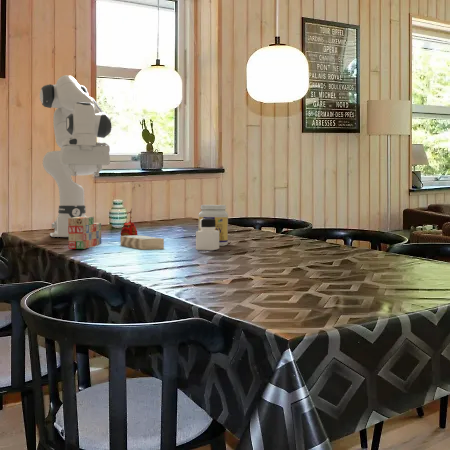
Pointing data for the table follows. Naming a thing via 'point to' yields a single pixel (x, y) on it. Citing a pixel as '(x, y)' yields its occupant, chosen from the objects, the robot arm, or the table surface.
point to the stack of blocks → (83, 232)
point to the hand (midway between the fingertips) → (85, 176)
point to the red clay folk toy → (129, 228)
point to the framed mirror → (142, 242)
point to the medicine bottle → (207, 235)
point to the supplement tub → (217, 220)
